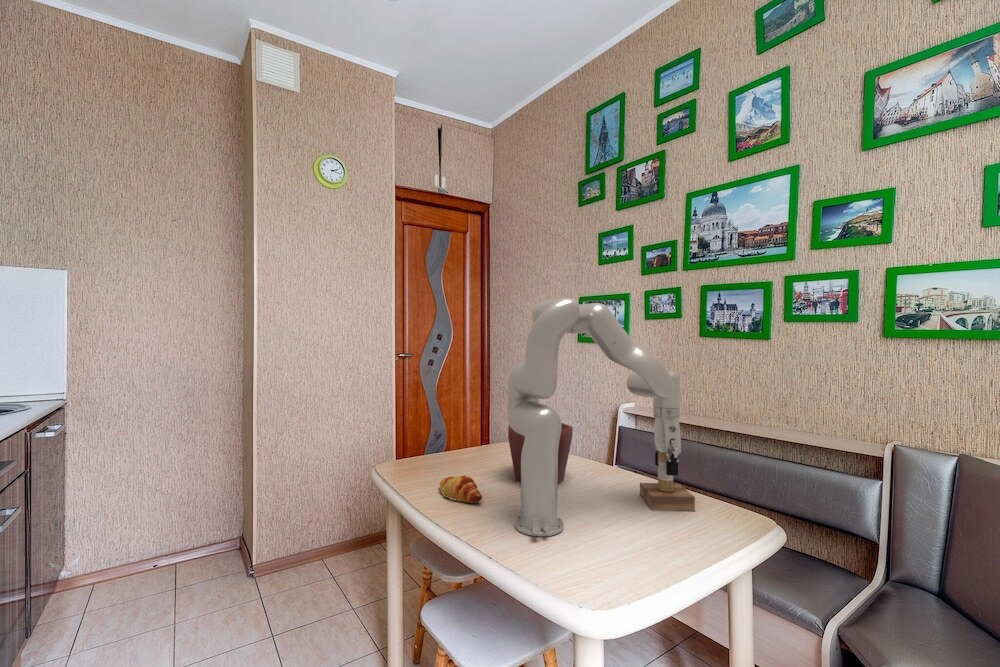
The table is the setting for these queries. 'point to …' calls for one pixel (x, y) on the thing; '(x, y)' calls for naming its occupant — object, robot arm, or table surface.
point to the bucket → (563, 450)
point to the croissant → (460, 489)
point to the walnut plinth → (667, 497)
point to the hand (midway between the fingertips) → (666, 470)
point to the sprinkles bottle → (663, 472)
